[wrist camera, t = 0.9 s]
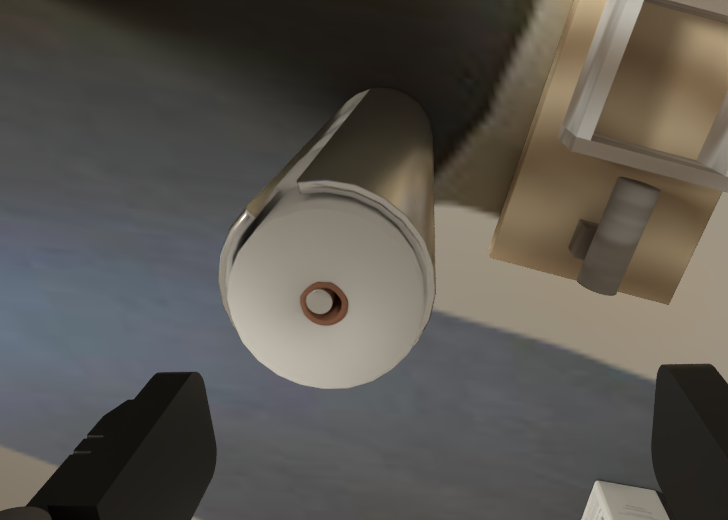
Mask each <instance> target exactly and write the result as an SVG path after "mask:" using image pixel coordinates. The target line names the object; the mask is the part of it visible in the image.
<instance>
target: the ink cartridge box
mask: <svg viewBox="0 0 728 520" xmlns="http://www.w3.org/2000/svg"><path fill="white" fill-rule="evenodd" d="M581 520H670V519H669V517H668V515H667V513H666V511H665V509H664V507H663V505H662V503H661V501H660V499H659V497H658V495H657V493H656V491H655V490H650V489H644V488H639V487H633V486H627V485H621V484H616V483H610V482H605V481H599V480H598V481H596V482H595V483H594V486H593V489H592V492H591V494H590V497H589V500H588V503H587V505H586V508H585V511H584V513H583V516H582V519H581Z"/></svg>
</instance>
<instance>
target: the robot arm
mask: <svg viewBox="0 0 728 520" xmlns="http://www.w3.org/2000/svg"><path fill="white" fill-rule="evenodd" d="M651 451H652V461H653V467H654V472H655V476H656V479H657V481H658V484H659V486H660V488H661V490H662V492H663V495H664V497H665V499H666V501H667V503H668V505H669V507H670V509H671V512H672V514H673V516H674V518H675V520H728V384H727V383H726V381H725V380H724V379H723V377H722V376H721V375H720V374H719V372H718V371H717V370H716V368H715V367H714V366H712V365H711V364H669V365H661V366H660V368H659V370H658V373H657V379H656V391H655V404H654V417H653V430H652V443H651ZM216 455H217V451H216V441H215V436H214V430H213V425H212V420H211V415H210V410H209V405H208V400H207V395H206V389H205V385H204V381H203V378H202V376H201V375H200V374H199V373H198V372H163V373H156V374H155V375H154V376H153V377H152V378H151V379H150V380H149V382H148V383H147V384H146V385H145V387H144V388H143V389H142V390H141V391H140V393H139V394H138V395H137V396H136V398H135V399H134V400H127V401H125V402H124V403H122V404H121V405H119V406H118V407H116V408H115V409H113V410H112V411H110V412H109V413H107V414H106V415H104V416H103V417H102V418H101V419H100V421H99V422H98V423H97V424H96V425H95V426H94V428H93V429H92V430H91V431H90V432H89V433H88V435H87V439H83V440H82V441H81V443H80V444H79V445H78V446H77V447H76V448H75V450H74V454H73V455H69V457H68V458H67V459H66V460H65V461H64V462H63V463H62V465H61V466H60V467H59V468H58V469H57V470H56V472H55V473H54V474H53V475H52V476H51V477H50V478H49V480H48V481H47V482H46V483H45V484H44V486H43V487H42V488H41V489H40V490H39V491H38V492H37V494H36V495H35V496H34V497H33V498H32V499H31V501H30V502H29V503H28V504H27V505H26V506H25V507H16V508H11V509H6V510H3V511H0V520H191V519H192V517H193V515H194V513H195V511H196V509H197V507H198V505H199V503H200V501H201V499H202V497H203V495H204V493H205V491H206V489H207V487H208V485H209V483H210V481H211V479H212V477H213V474H214V470H215V465H216Z"/></svg>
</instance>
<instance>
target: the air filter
mask: <svg viewBox="0 0 728 520" xmlns="http://www.w3.org/2000/svg"><path fill="white" fill-rule="evenodd" d="M434 230H435V228H434V178H433V138H432V127H431V124H430V122H429V119H428V116H427V114H426V113H425V111H424V110H423V108H422V107H421V105H420V104H419V103H418V102H416V101H415V100H414V99H413V98H412V97H411V96H409V95H407V94H405V93H403V92H401V91H399V90H396V89H390V88H384V87H383V88H373V89H368V90H366V91H363V92H360V93H358V94H356V95H355V96H354V97H352V98H351V99H350V100H348V101H347V102H346V103H345V104H344V105H343V106H342V107H341V108H340V109H339V110H338V111H337V112H336V113H335V115H334V116H333V117H332V118H331V119H330V120H329V121H328V122H327V123H326V124H325V125H324V126H323V127H322V128H321V129H320V130H319V131H318V132H317V133H316V134H315V135H314V137H313V138H312V139H311V140H310V141H309V142H308V143H307V144H306V145H305V146H304V147H303V148H302V149H301V150H300V151H299V152H298V153H297V154H296V155H295V156H294V157H293V158H292V160H291V161H290V162H289V163H288V164H287V165H286V166H285V167H284V168H283V169H282V170H281V171H280V172H279V173H278V174H277V175H276V176H275V177H274V178H273V179H272V180H271V181H270V183H269V184H268V185H267V186H266V187H265V188H264V189H263V190H262V191H261V192H260V193H259V194H258V195H257V196H256V197H255V198H254V199H253V200H252V201H251V202H250V203H249V205H248V206H247V207H246V208H245V209H244V210H243V212H242V213H241V214H240V216H239V217H238V218H237V219H236V221H235V222H234V223H233V225H232V226H231V227H230V229H229V231H228V234H227V237H226V239H225V242H224V244H223V247H222V249H221V252H220V261H219V273H218V283H219V288H220V293H221V298H222V303H223V307H224V309H225V311H226V313H227V315H228V317H229V319H230V321H231V323H232V325H233V327H234V329H235V330H236V332H237V333H238V334H239V336H240V338H241V340H242V342H243V343H244V344H245V346H246V347H247V348H248V349H249V350H250V351H251V353H252V354H253V355H254V356H255V357H256V358H257V360H258V361H260V362H261V363H262V364H264V365H265V366H266V367H268V368H269V369H270V370H272V371H273V372H275V373H276V374H277V375H279V376H282V377H284V378H286V379H289V380H291V381H293V382H296V383H298V384H300V385H306V386H311V387H317V388H322V389H335V388H350V387H354V386H358V385H361V384H365V383H368V382H372V381H373V380H375V379H377V378H378V377H380V376H382V375H383V374H385V373H387V372H388V371H390V370H392V369H393V368H394V367H395V366H396V365H397V364H398V363H399V362H400V361H401V360H402V359H403V358H404V357H405V356H406V355H407V354H408V353H409V351H410V349H411V348H412V347H413V346H414V345H415V344H416V343H417V341H418V340H419V338H420V336H421V334H422V332H423V331H424V329H425V327H426V325H427V323H428V322H429V320H430V317H431V312H432V308H433V304H434V299H435V295H436V280H435V279H436V278H435V231H434Z"/></svg>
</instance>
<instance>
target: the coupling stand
mask: <svg viewBox="0 0 728 520" xmlns="http://www.w3.org/2000/svg"><path fill="white" fill-rule="evenodd" d="M722 191H724V192H728V0H574V2H573V5H572V7H571V10H570V13H569V16H568V19H567V22H566V25H565V28H564V31H563V34H562V37H561V40H560V43H559V45H558V48H557V51H556V54H555V57H554V60H553V63H552V66H551V69H550V72H549V75H548V78H547V80H546V83H545V86H544V89H543V92H542V95H541V98H540V101H539V104H538V107H537V110H536V113H535V116H534V118H533V121H532V124H531V127H530V130H529V133H528V136H527V139H526V142H525V145H524V148H523V151H522V153H521V156H520V159H519V162H518V165H517V168H516V171H515V174H514V177H513V180H512V183H511V186H510V188H509V191H508V194H507V197H506V200H505V203H504V206H503V209H502V212H501V215H500V218H499V221H498V224H497V226H496V229H495V232H494V236H493V238H492V241H491V244H490V247H489V254H490V257H491V258H493V259H497V260H501V261H505V262H508V263H513V264H517V265H520V266H524V267H527V268H531V269H535V270H539V271H542V272H546V273H550V274H554V275H558V276H561V277H565V278H569V279H573V280H577V282H578V283H579V284H581V285H582V286H584V287H585V288H587V289H589V290H591V291H593V292H596V293H599V294H603V295H609V296H613V295H616V293H617V291H618V292H622V293H626V294H629V295H633V296H637V297H641V298H644V299H648V300H652V301H656V302H660V303H663V304H667V305H669V303H670V301H671V299H672V297H673V295H674V292H675V290H676V288H677V286H678V284H679V282H680V280H681V278H682V275H683V274H684V271H685V269H686V267H687V265H688V263H689V261H690V258H691V257H692V255H693V252H694V250H695V248H696V246H697V244H698V242H699V240H700V238H701V236H702V234H703V231H704V229H705V227H706V225H707V223H708V221H709V219H710V217H711V215H712V212H713V210H714V208H715V206H716V204H717V202H718V200H719V198H720V196H721V193H722Z"/></svg>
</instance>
